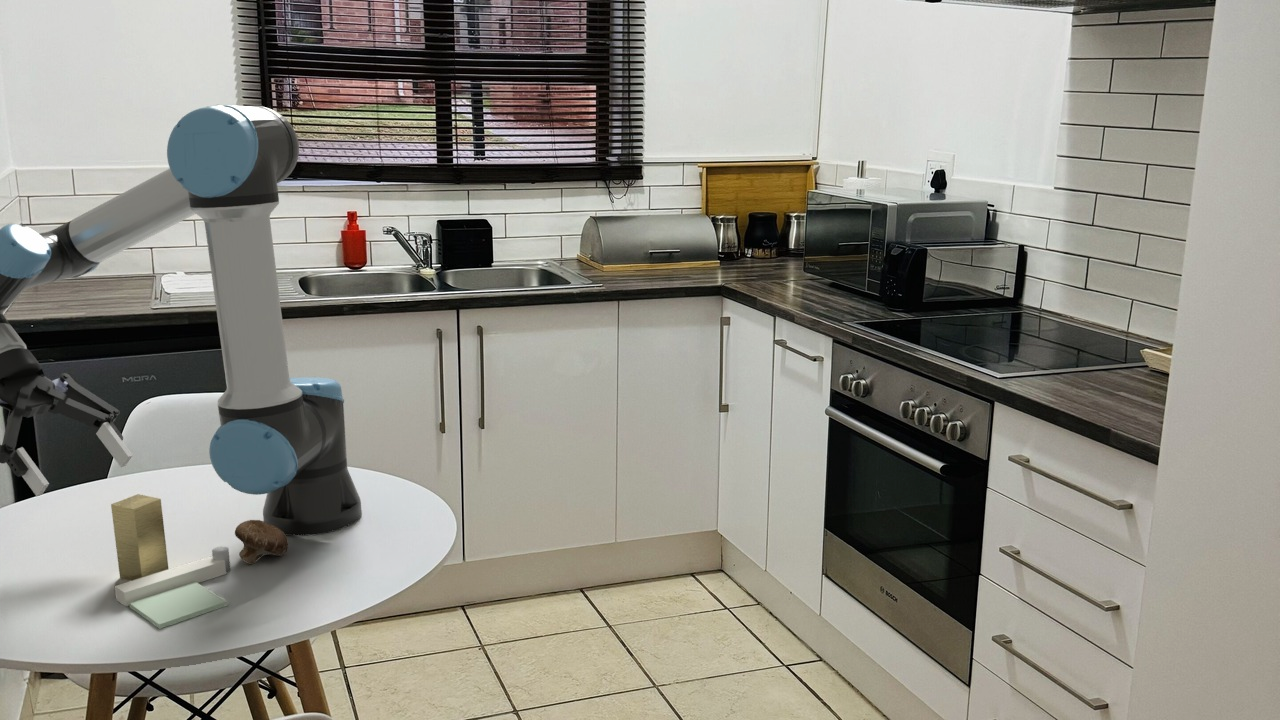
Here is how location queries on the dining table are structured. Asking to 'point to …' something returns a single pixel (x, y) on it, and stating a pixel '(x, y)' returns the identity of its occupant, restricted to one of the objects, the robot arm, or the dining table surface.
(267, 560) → the dining table surface
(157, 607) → the plate
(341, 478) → the robot arm
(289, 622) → the dining table surface
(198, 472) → the dining table surface
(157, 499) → the block
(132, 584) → the door edge
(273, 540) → the mushroom
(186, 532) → the dining table surface
